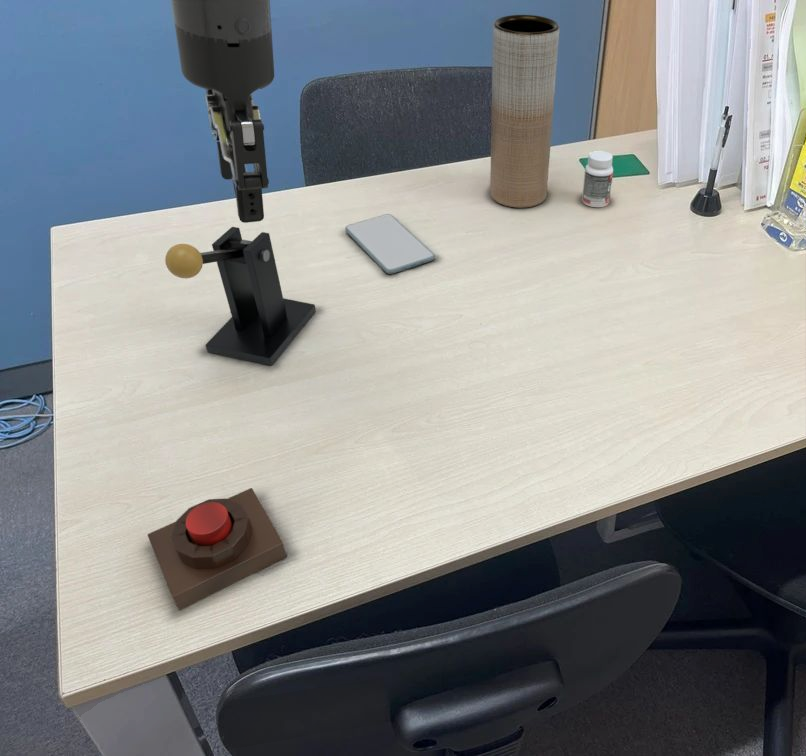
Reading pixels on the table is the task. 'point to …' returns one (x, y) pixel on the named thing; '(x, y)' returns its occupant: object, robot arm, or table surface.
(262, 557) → the block
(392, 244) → the smartphone
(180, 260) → the latch lever
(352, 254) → the table surface
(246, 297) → the latch bracket
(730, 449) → the table surface
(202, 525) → the release button
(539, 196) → the vase
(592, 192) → the pill bottle
